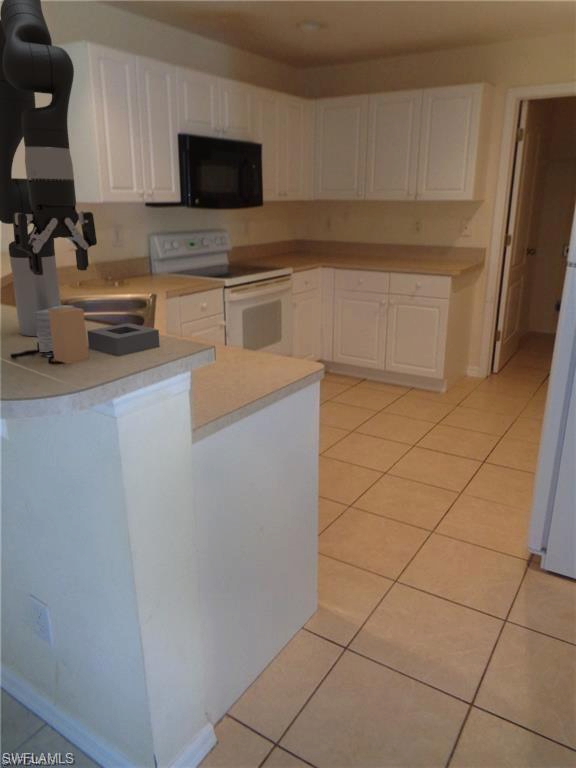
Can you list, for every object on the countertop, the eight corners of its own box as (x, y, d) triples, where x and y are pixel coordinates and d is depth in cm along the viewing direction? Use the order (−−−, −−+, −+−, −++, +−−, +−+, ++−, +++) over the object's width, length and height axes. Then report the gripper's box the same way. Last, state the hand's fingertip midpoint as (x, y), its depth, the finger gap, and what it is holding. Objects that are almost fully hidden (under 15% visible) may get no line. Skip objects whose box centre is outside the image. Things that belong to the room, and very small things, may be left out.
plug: (54, 362, 107) (48, 309, 103) (75, 357, 110) (70, 306, 107) (67, 366, 104) (61, 312, 101) (88, 361, 107) (83, 309, 104)
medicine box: (59, 356, 110) (54, 312, 108) (39, 355, 111) (33, 311, 108) (80, 346, 118) (76, 305, 115) (61, 345, 119) (56, 304, 116)
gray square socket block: (89, 349, 115) (87, 330, 114) (130, 341, 123) (128, 323, 121) (118, 358, 109) (116, 338, 108) (159, 348, 117) (158, 329, 115)
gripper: (76, 178, 104) (84, 267, 109) (-2, 175, 93) (11, 274, 99) (99, 178, 99) (107, 271, 105) (20, 175, 89) (33, 278, 94)
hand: (60, 272), depth 102 cm, fingers open, 8 cm apart
